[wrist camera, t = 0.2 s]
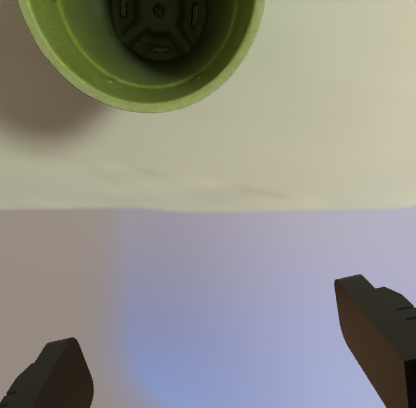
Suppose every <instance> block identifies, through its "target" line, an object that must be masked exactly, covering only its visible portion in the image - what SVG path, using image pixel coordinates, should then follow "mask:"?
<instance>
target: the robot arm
mask: <svg viewBox="0 0 416 408" xmlns="http://www.w3.org/2000/svg"><path fill="white" fill-rule="evenodd" d="M334 286H335V294H336V301H337V307H338V314H339V321H340V326H341V330H342V334H343V336H344V339H345V341H346V344H347V346H348V347H349V349H350V350H351V352H352V353H353V355H354V357H355V358H356V360H357V361H358V363H359V365H360V366H361V368H362V369H363V371H364V372H365V374H366V375H367V377H368V379H369V381H370V382H371V384H372V385H373V387H374V388H375V390H376V391H377V393H378V395H379V396H380V398H381V400H382V401H383V403H384V404H385V406H386V407H387V408H416V308H414V306H413V305H412V304H411V303H410V302H409V301H408V300H407V299H406V298H405V297H404V296H403V295H402V294H399V293H397V292H395V291H393V290H390V289H388V288H386V287H381V288H376V289H375V288H374V287H373V286H372V285H371V284H370V283H369V282H368V281H367V280H366V279H365V278H364V277H363V276H362V275H360V274H359V275H354V276H350V277H345V278H341V279H336V280H335V282H334ZM93 389H94V387H93V381H92V377H91V374H90V371H89V369H88V367H87V364H86V361H85V358H84V356H83V353H82V351H81V348H80V346H79V343H78V341H77V340H76V339H75V338H73V337H72V338H67V339H63V340H58V341H54V342H50V343H47V344H46V345H45V347H44V349H43V350H42V352H41V353H40V355H39V356H38V358H37V360H36V361H35V363H33V364H31V365H30V366H29V367H28V368H27V369H26V370H25V371H23V372H22V373H21V374H20V375H19V376H18V377H17V378H16V379H15V381H14V382H13V384H12V386H11V387H10V389H9V390H8V391H7V395H6V396H4V398H3V399H2V401H1V402H0V408H90V406H91V402H92V399H93V393H94V390H93Z"/></svg>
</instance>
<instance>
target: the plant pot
mask: <svg viewBox="0 0 416 408" xmlns="http://www.w3.org/2000/svg"><path fill="white" fill-rule="evenodd" d="M120 2H121V0H18V3H19V6H20V9H21V12H22V15H23V17H24V20H25V22H26V24H27V26H28V29H29V31H30V32H31V34H32V36H33V38H34V40H35V42H36V43H37V45H38V47H39V48H40V50H41V51H42V53H43V54H44V55H45V57H46V58H47V59H48V60H49V62H50V63H51V64H52V65H53V66H54V67H55V69H56V70H57V71H58V72H59V73H60V74H61V75H62V76H63V77H64V78H65V79H67V80H68V81H69V82H70V83H71V84H72V85H74V86H75V87H76V88H78V89H79V90H80V91H82V92H83V93H85V94H87V95H88V96H90V97H92V98H94V99H96V100H98V101H100V102H102V103H104V104H107V105H109V106H111V107H114V108H118V109H121V110H126V111H131V112H139V113H162V112H168V111H173V110H177V109H181V108H184V107H187V106H190V105H192V104H194V103H196V102H198V101H200V100H202V99H204V98H205V97H207V96H208V95H210V94H211V93H212V92H214V91H215V90H216V89H218V88H219V87H220V86H221V85H222V84H223V83H225V82H226V81H227V80H228V79H229V78H230V77H231V75H232V74H233V73H234V72H235V71H236V69H237V68H238V66H239V65H240V64H241V62H242V61H243V60H244V58H245V56H246V55H247V53H248V51H249V49H250V48H251V46H252V44H253V41H254V39H255V37H256V34H257V32H258V29H259V26H260V23H261V19H262V14H263V10H264V5H265V0H127V17H126V18H124V17H122V16H121V13H120ZM192 3H193V4H195V3H196V4H197V5H198V20H197V25H196V26H192V25H191V19H192V11H193V7H192ZM157 5H161V6H162V7H163V9H164V13H163V14H162V16H157V15H156V14H155V12H154V8H155V7H156V6H157ZM189 37H190V38H191V40H190V38H189ZM150 45H153V46H159V47H165V46H168V52H166V53H160V52H152V51H150V50H149V47H150Z"/></svg>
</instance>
